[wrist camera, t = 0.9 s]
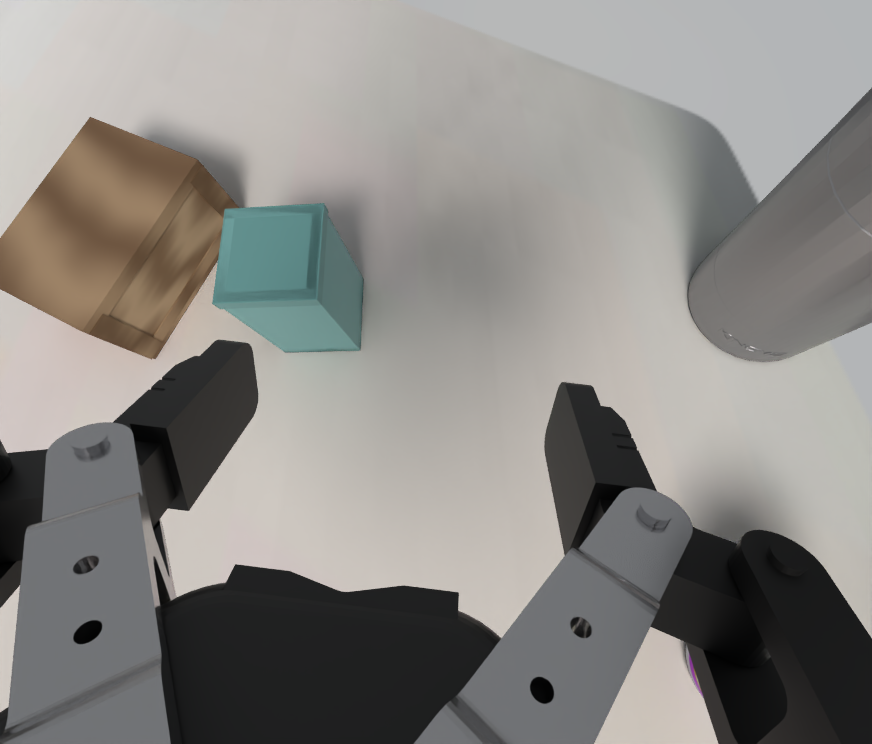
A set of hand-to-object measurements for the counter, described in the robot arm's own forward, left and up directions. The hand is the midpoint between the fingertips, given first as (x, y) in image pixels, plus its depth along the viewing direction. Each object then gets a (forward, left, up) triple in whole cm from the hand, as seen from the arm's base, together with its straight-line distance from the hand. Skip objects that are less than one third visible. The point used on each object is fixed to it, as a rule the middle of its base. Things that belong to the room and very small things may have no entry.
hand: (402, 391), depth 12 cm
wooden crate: (-3, -30, -22) cm, 37 cm away
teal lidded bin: (-5, -14, -22) cm, 26 cm away
